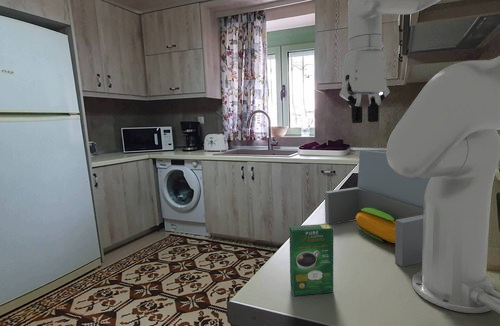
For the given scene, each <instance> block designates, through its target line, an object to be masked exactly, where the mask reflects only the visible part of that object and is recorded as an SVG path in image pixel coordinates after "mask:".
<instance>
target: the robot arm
mask: <svg viewBox="0 0 500 326" xmlns="http://www.w3.org/2000/svg"><path fill="white" fill-rule="evenodd" d="M441 1H442V0H348V1H347V14H348V15H347V17H348V18H347V23H348V24H347V25H348V29H347V30H348V36H347V37H348V38H347V39H348V40H347V41H348V52H346V53H345V56H344V60H343V66H342V77H341V78H342V80H341V90H340V91H339V97H341V98H343V99H344V100H345V102H346V103H347V104H348V107H350V108H351V123H352V124H361V123H363V106H361V101H362V95H367V96H368V102H369V106H368V107H367V122H369V123H377V122H379V116H380V114H379V112H380V111H379V107H380V106H381V105H382V102H383V100H384V99H385V98H386V97H387V96H388V95H389V94H390V92H391V91H390V89H389V87H388V85H387V64H386V58H385V52H384V50H382V48H384V47H385V43H384V41H382V39H383V38H382V37H383V36H382V34H383V32H382V30H383V26H382V22H383V19H382V18H383V15H411V14H415V13H418V12H421V11H423V10H425V9H428V8H429V7H431V6H433V5H435V4H437V3H439V2H441ZM498 131H500V55H498V56H497V57H495V58H492V59H487V60H485V59H484V60H466V61H462V62H455V63H454V64H451V65H448V66H447V67H444V68H442V69H441V70H440V71H439V72H437V73H436V74H434V75H433V76H432V77H431V78H430V79H429V80H428V82H427V83H426V84H425V85H424V86H423V88H422V89H421V91H420V92H419V93H418V95H417V96H416V97H415V99H414V100H413V101H412V102H411V105H409V107H408V108H407V109H406V111H405V112H404V114H403V115H402V117H401V118H400V119H399V121H398V122H397V124H396V125H395V127H394V129H393V130H392V131H391V134H390V136H389V137H388V141H387V143H386V150H385V151H386V152H385V153H386V155H387V160H388V163H389V165H390V167H391V168H392V169H393V171H395V172H396V173H397V174H399V175H401V176H403V177H406V178H411V179H422V178H430V180H429V182H428V184H427V187H426V190H425V194H424V206H423V247H422V262H421V270H419V271H418V272H416V273H415V274H413V276H412V278H411V279H412V282H411V283H412V284H411V285H412V287H413V289H414V291H415V292H416V293H417V294H418V295H419V296H420V297H422V299H424V300H426V301H428V302H430V303H431V304H434V305H436V306H438V307H441V308H444V309H446V310H450V311H454V312H459V313H464V314H465V313H466V314H483V313H486V312H489V311H494V312H495V313H497V314H499V315H500V292H498V291H496V290H495V288H494V278H491V276H490V277H489V276H487V268H488V267H487V266H488V265H487V264H488V251H489V249H488V247H489V230H490V214H491V201H492V191H493V184H494V181H495V176H496V171H497V169H498V166H499V162H500V134H499V133H498Z"/></svg>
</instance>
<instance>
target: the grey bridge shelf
mask: <svg viewBox="0 0 500 326" xmlns="http://www.w3.org/2000/svg"><path fill="white" fill-rule="evenodd" d="M363 208H374V209H378V210H381V211H383V212H385V213H387V214H389V215H390V216H392V217H393V218H394V219H395V222H396V228H395V243H394V245H395V246H394V248H395V250H394V255H395V256H394V263H395V264H396V265H398V266H399V267H401V268H404V267H409V266H412V265H417V264H420V263H421V264H422V247H423V207H421V206H417V205H414V204H411V203H408V202H404V201H401V200H398V199H395V198H391V197H388V196H385V195H382V194H378V193H375V192H372V191H369V190H365V189H362V188H359V187H357V186H356V187H349V188H342V189H341V188H340V189H335V190H327V191H324V217H325V218H324V219H325V222H324V224H329V225H333V224H339V223H345V222H350V221H356V218H355V217H356V215H357V214H358V211H360V210H362V209H363Z"/></svg>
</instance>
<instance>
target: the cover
mask: <svg viewBox="0 0 500 326" xmlns="http://www.w3.org/2000/svg"><path fill="white" fill-rule="evenodd" d="M429 180H430V178H422V179H411V178H406V177H403V176H401V175H399V174H397V173H396V172H395V171H393V169H392V168H391V167H390V165H389V163H388V160H387V155H386V152H382V151H372V150H366V149H359V157H358V174H357V186H356V187H359V188H362V189H365V190H369V191H372V192H375V193H378V194H382V195H385V196H388V197H391V198H395V199H398V200H401V201H404V202H408V203H411V204H414V205H417V206H421V207H423V206H424V194H425V190H426V187H427V184H428V182H429Z"/></svg>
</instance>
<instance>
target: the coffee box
mask: <svg viewBox="0 0 500 326" xmlns="http://www.w3.org/2000/svg"><path fill="white" fill-rule="evenodd" d="M334 232H335V231H334V227H333V226H332V225H331V224H327V223H320V224H319V223H318V224H307V225H306V224H303V225H301V224H300V225H289V275H290V276H289V278H290V279H289V281H290V290H291V293H292V295H293V297H295V296H305V295H320V294H323V295H324V294H329V293H330V294H331V293H334Z"/></svg>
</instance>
